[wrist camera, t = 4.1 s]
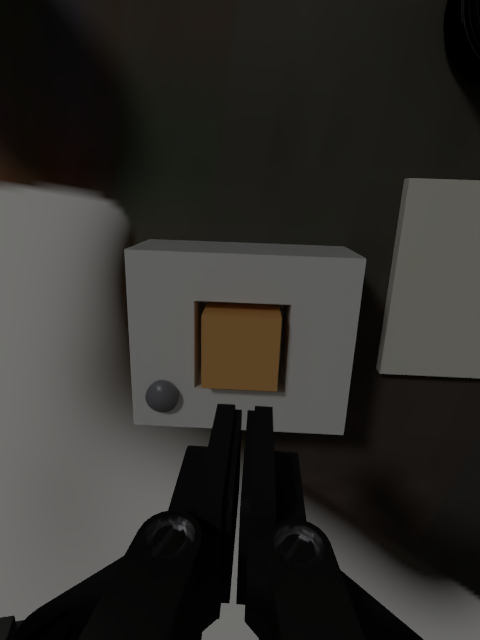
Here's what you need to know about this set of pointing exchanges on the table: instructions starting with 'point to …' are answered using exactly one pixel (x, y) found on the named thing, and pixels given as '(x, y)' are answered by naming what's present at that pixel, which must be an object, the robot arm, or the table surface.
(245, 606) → the robot arm
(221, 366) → the button
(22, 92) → the table surface
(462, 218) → the pad
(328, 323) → the box
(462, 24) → the supplement bottle
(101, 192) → the table surface
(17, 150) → the table surface
